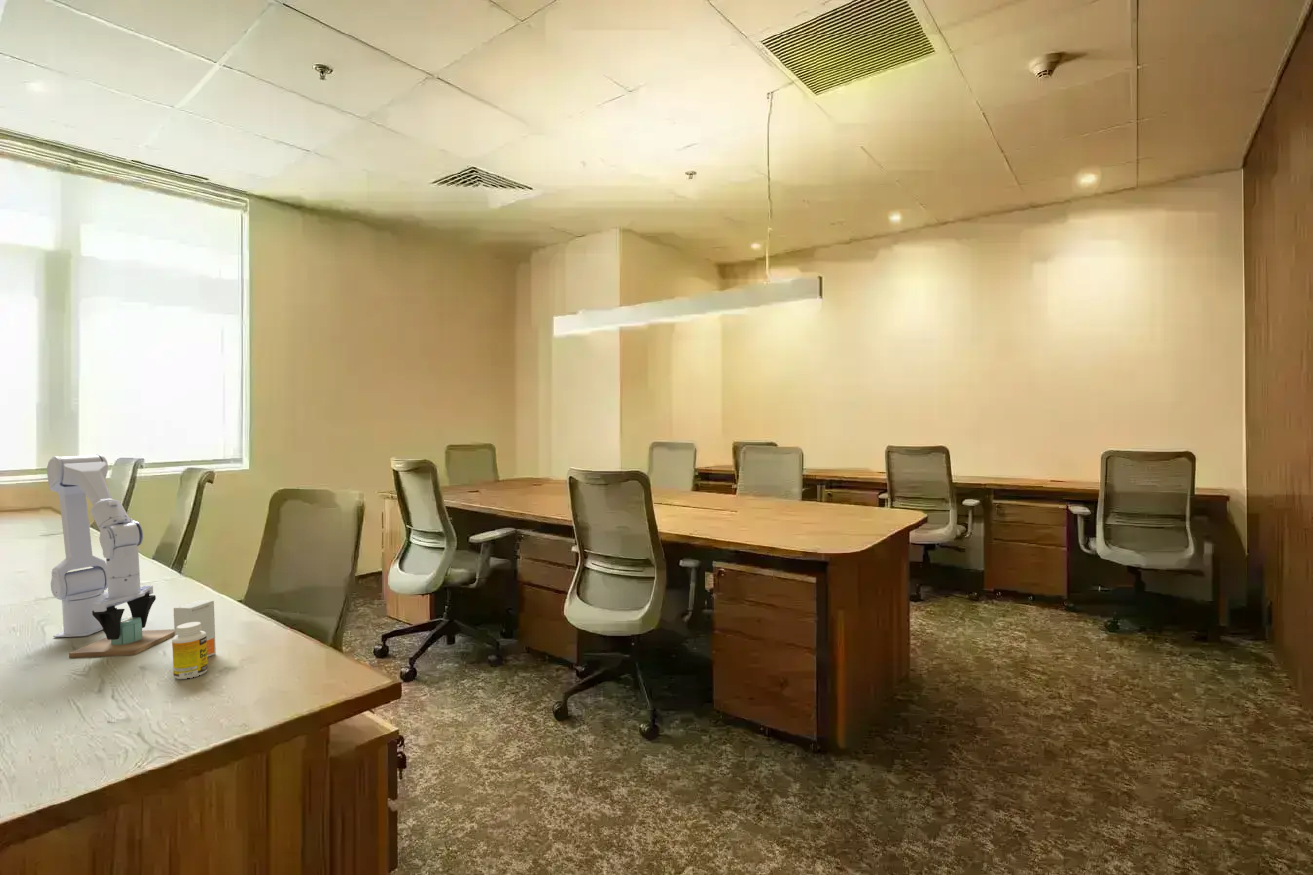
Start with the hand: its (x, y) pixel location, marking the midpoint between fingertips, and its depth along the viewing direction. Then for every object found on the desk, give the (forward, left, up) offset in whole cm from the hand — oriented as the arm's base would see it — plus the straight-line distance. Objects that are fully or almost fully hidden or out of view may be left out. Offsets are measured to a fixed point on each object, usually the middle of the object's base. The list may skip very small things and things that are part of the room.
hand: (126, 633), depth 144 cm
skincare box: (+11, +23, -3) cm, 26 cm away
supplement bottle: (+20, +28, -3) cm, 35 cm away
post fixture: (0, 0, -3) cm, 3 cm away
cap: (0, 0, -2) cm, 2 cm away
